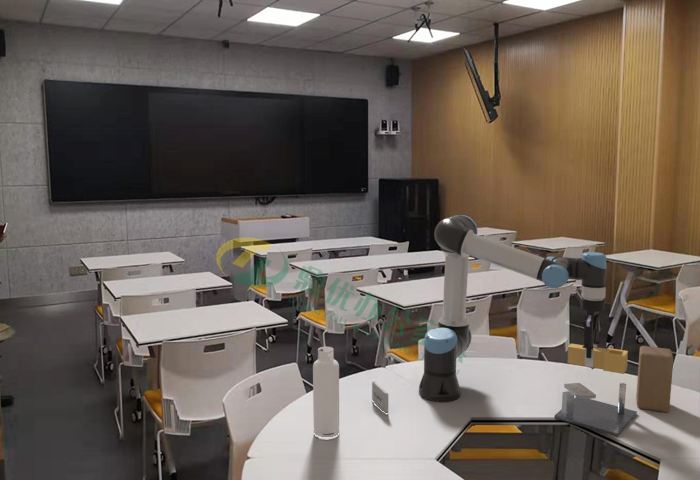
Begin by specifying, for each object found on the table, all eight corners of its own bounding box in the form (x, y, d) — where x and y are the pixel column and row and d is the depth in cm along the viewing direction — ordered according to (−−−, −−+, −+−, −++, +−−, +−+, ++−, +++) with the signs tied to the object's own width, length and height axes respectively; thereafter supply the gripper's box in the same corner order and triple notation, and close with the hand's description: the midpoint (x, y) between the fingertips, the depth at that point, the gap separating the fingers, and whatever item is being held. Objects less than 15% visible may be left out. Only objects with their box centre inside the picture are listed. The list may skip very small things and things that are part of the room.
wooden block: (667, 402, 208) (671, 348, 205) (669, 413, 199) (673, 357, 196) (636, 397, 212) (639, 344, 209) (636, 408, 203) (640, 353, 200)
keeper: (577, 411, 201) (579, 382, 199) (594, 424, 191) (596, 394, 190) (556, 412, 200) (557, 384, 198) (571, 426, 190) (573, 396, 188)
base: (554, 418, 196) (556, 386, 194) (577, 398, 211) (579, 369, 210) (617, 436, 183) (619, 403, 181) (636, 414, 198) (639, 383, 197)
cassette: (389, 415, 199) (389, 393, 198) (384, 416, 198) (384, 394, 197) (375, 401, 210) (375, 380, 209) (370, 402, 209) (370, 381, 208)
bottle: (330, 442, 180) (329, 355, 175) (308, 436, 184) (307, 350, 180) (344, 432, 186) (343, 347, 182) (323, 426, 191) (322, 343, 187)
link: (627, 368, 198) (627, 351, 197) (623, 374, 193) (624, 356, 192) (571, 358, 208) (571, 342, 207) (566, 364, 203) (567, 347, 202)
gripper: (586, 291, 207) (584, 355, 211) (575, 302, 193) (573, 370, 197) (609, 294, 203) (606, 359, 207) (599, 305, 189) (596, 374, 192)
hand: (590, 364), depth 202 cm, fingers closed on link, 4 cm apart
